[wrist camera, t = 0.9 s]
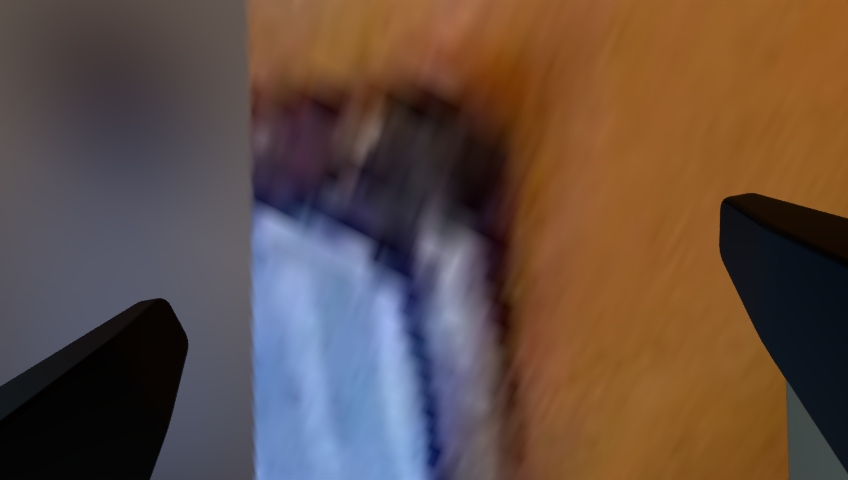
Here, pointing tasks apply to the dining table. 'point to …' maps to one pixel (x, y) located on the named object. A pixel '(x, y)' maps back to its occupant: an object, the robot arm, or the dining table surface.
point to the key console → (808, 446)
